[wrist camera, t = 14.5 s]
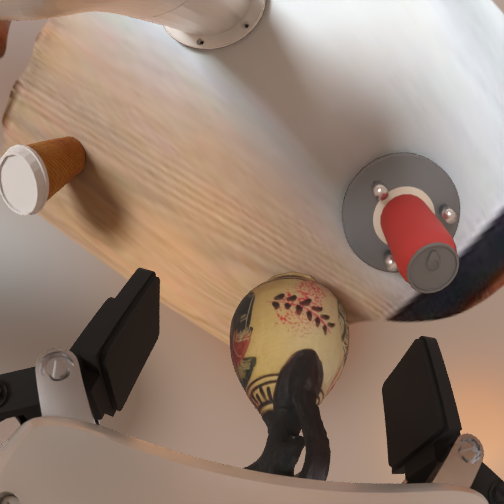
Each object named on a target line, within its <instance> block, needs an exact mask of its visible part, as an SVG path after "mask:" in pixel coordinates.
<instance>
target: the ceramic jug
mask: <svg viewBox="0 0 504 504" xmlns="http://www.w3.org/2000/svg"><path fill="white" fill-rule="evenodd" d="M348 345H349V327H348V321H347V317H346V314H345V311H344V309H343V307H342V305H341V304H340V302H339V300H338V299H337V298H336V297H335V296H334V295H333V294H332V293H331V291H330V290H329V289H328V288H327V287H325V286H324V285H322V284H320V283H318V282H316V281H315V279H314V278H313V277H311V276H310V275H305V274H301V273H297V272H288V273H284V274H280V275H276V276H274V277H272V278H270V279H269V280H268V281H267V282H264V283H262V284H260V285H259V286H257V287H256V288H254V289H253V290H251V291H250V292H249V293H248V294H247V295H246V296H245V297H244V298H243V300H242V301H241V302H240V304H239V306H238V307H237V309H236V311H235V314H234V316H233V319H232V322H231V329H230V349H231V358H232V362H233V365H234V369H235V372H236V374H237V377H238V379H239V381H240V383H241V384H242V386H243V388H244V390H245V392H246V394H247V396H248V398H249V399H250V401H251V402H252V403H253V405H254V406H255V408H256V409H257V410H258V412H259V413H260V414H261V416H262V419H263V421H264V422H265V423H266V425H267V427H268V434H269V436H268V438H267V443H266V446H265V449H264V451H263V454H262V455H261V456H260V458H259V459H258V460H257V461H256V462H254V463H253V464H251V465H250V466H248V467H245V468H243V469H248V470H253V471H258V472H263V473H269V474H275V475H281V476H288V477H295V478H303V479H312V480H322V481H326V478H327V475H328V471H329V464H330V452H331V451H330V448H329V439H328V438H327V433H326V430H325V429H324V426H323V422H322V420H321V416H320V411H319V407H318V406H319V405H320V403H321V402H322V401H323V399H324V398H325V397H326V396H327V395H328V393H329V392H330V391H331V390H332V388H333V387H334V385H335V383H336V381H337V379H338V378H339V377H340V374H341V372H342V369H343V367H344V365H345V362H346V358H347V354H348ZM301 429H302V433H303V437H302V436H299V433H300V431H301ZM304 446H306V456H305V462H304V465H303V468H302V471H301V472H300V473H298V474H296V475H294V467H295V464H296V463H297V462H298V459H299V457H300V454H301V451H302V449H303V448H304Z"/></svg>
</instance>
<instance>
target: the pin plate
mask: <svg viewBox="0 0 504 504" xmlns="http://www.w3.org/2000/svg"><path fill="white" fill-rule="evenodd" d="M376 180H379V181H381V182H382V183H383V184H384V186H385V187H386V189H387V190H388V197H387V198H386V199H385V200H383V201H380V200H378V199H377V198H376V197H375V195H374V193H373V191H372V189H371V184H372V183H373V182H374V181H376ZM402 194H412V195H415V196H418V197H419V198H420V199H422V200H423V201H424V202H425V203H426V205H427V206H428V207H429V208H430V209H431V211H432V212H433V213H434V214H435V216H436V217H437V218H438V219H439V221H440V222H441V223H442V225H443V226H444V227H445V229H446V230H447V231H448V232H449V234H450V235H451V237H452V238H453V237H454V235H455V232H456V230H457V227H458V223H459V217H460V202H459V197H458V193H457V190H456V188H455V185H454V183H453V182H452V180H451V178H450V177H449V176H448V175H447V173H446V172H445V171H444V170H443V169H442V168H440V167H439V166H438V165H437V164H435V163H434V162H432V161H431V160H429V159H427V158H425V157H423V156H420V155H417V154H411V153H395V154H390V155H386V156H383V157H381V158H378V159H376V160H374V161H373V162H371V163H369V164H368V165H367V166H366V167H364V168H363V169H362V170H361V171H360V172H359V173H358V174H357V175H356V177H355V178H354V179H353V181H352V182H351V184H350V186H349V188H348V190H347V192H346V195H345V198H344V202H343V208H342V221H343V227H344V232H345V235H346V239H347V241H348V243H349V245H350V247H351V248H352V250H353V251H354V253H355V254H356V255H357V256H358V257H359V258H360V259H361V260H362V261H364V262H365V263H367V264H368V265H370V266H372V267H374V268H376V269H379V270H382V271H388V272H399V271H398V268H397V269H396V270H395V271H389V270H388V269H387V267H386V264H385V261H384V258H383V254H384V253H385V252H386V251H388V250H390V248H389V246H388V243H387V241H386V238H385V236H384V234H383V231H382V228H381V225H380V216H381V213H382V211H383V208H384V207H385V206H386V204H387V203H388V202H389V201H390V200H391V199H393V198H394V197H396V196H399V195H402ZM442 204H447V205H448V206H449V207H450V208H451V209H452V210H453V211H454V212H455V213H456V215H457V219H456V221H455V222H454V223H452V224H449V223H447V222H446V221H445V219H444V218H443V217H442V216H441V214H440V213H439V207H440V206H441V205H442Z"/></svg>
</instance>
